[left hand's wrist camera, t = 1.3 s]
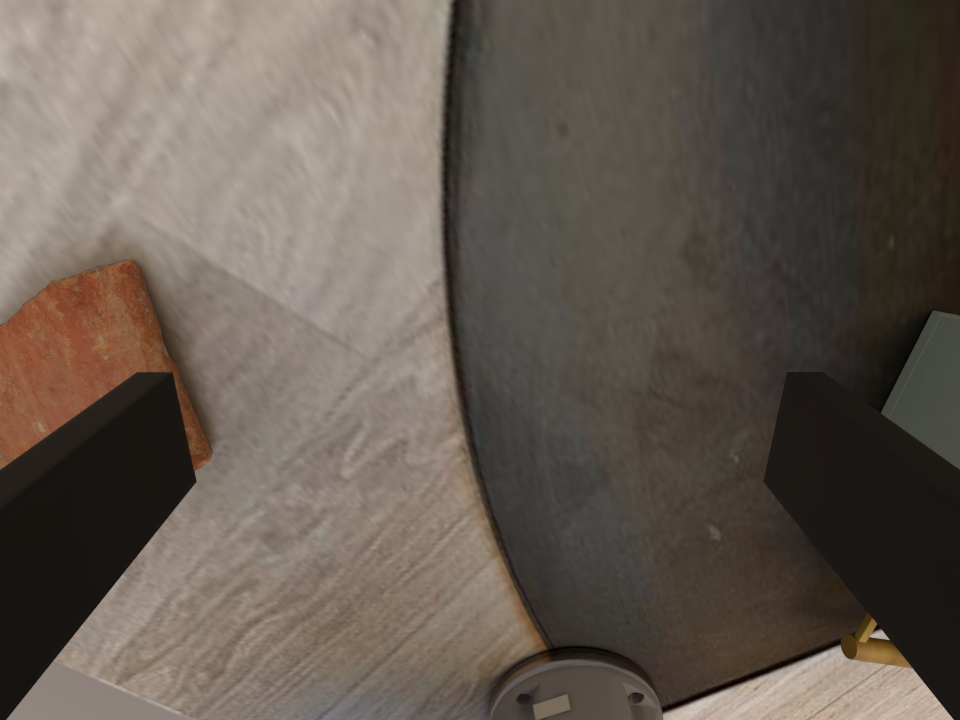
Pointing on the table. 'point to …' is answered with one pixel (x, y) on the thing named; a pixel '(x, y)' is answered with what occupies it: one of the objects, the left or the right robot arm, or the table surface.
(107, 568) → the left robot arm
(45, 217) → the table surface
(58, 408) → the ceramic shard
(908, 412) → the cabinet
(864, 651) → the drawer
